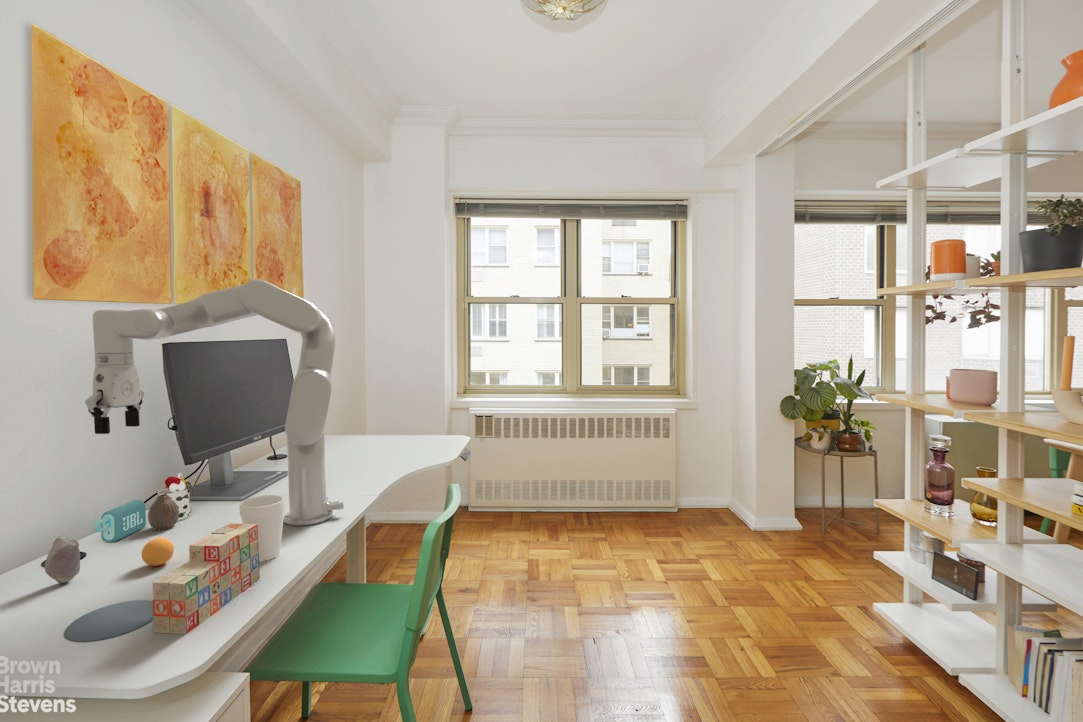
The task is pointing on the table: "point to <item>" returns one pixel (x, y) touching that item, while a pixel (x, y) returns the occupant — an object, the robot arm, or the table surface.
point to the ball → (157, 551)
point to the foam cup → (265, 522)
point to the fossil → (63, 560)
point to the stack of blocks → (207, 578)
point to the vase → (163, 513)
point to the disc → (111, 621)
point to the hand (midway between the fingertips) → (118, 429)
